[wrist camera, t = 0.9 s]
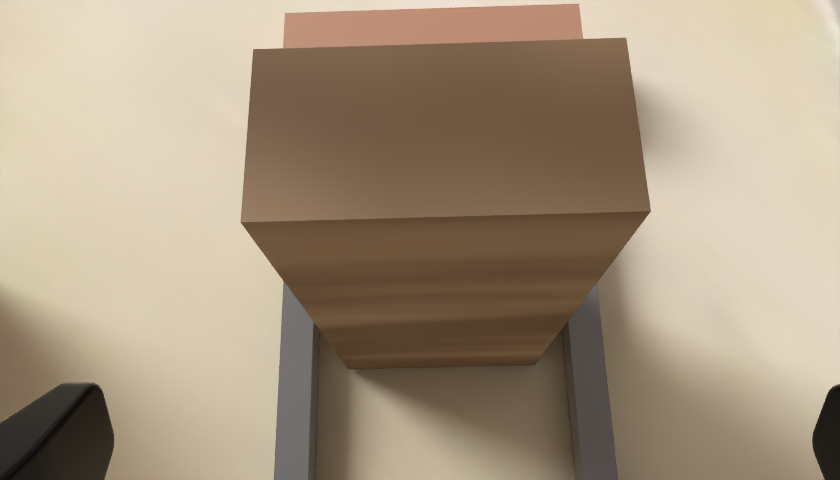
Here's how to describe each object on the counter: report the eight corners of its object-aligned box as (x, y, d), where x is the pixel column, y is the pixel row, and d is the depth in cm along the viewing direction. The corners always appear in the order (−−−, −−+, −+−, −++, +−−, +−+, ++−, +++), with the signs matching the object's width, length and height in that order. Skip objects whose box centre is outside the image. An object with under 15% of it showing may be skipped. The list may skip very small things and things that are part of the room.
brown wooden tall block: (535, 364, 22) (650, 211, 10) (348, 368, 23) (241, 222, 10) (528, 274, 23) (626, 37, 11) (349, 279, 24) (253, 49, 11)
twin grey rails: (619, 587, 20) (648, 603, 18) (277, 593, 21) (251, 610, 18) (563, 55, 27) (578, 3, 24) (301, 63, 27) (285, 13, 24)
